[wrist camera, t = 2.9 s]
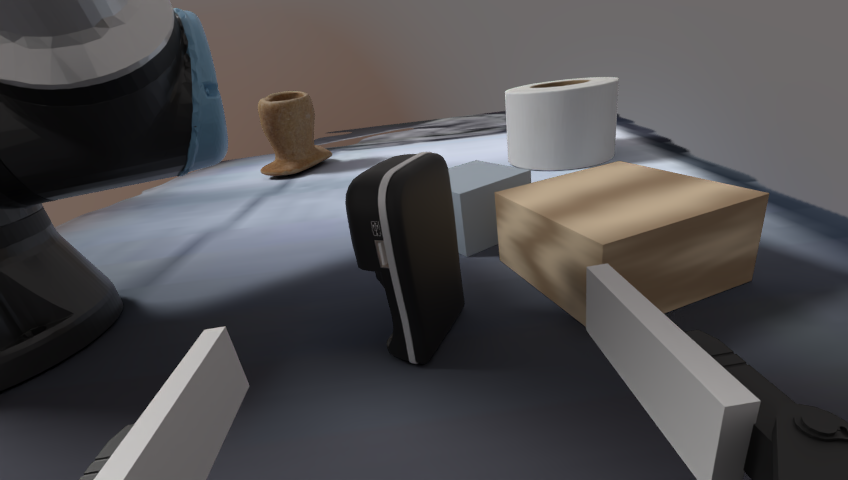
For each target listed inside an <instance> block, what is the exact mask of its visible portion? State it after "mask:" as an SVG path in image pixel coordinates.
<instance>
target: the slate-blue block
mask: <svg viewBox="0 0 848 480" xmlns="http://www.w3.org/2000/svg"><path fill="white" fill-rule="evenodd" d="M448 171H449V177H450V184H451V191H452V198H453V206H454V214H455V223H456V233H457V242H458V252H459V253H460V254H462V255H463V256H465V257H468V256H471V255H473V254H476V253H478V252H480V251H483V250H485V249H487V248H490V247H492V246H495V245H497V244H498V232H497V219H496V206H495V194H494V192H498V191H502V190H506V189H510V188H514V187H518V186H522V185H526V184H530V183H531V170H527V169H522V168H516V167H511V166H505V165H499V164H494V163H488V162H483V161H477V160H475V161H472V162H469V163H465V164H462V165H459V166H455V167H452V168H449V169H448Z"/></svg>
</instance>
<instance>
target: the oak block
mask: <svg viewBox="0 0 848 480" xmlns="http://www.w3.org/2000/svg"><path fill="white" fill-rule="evenodd" d="M494 194H495V206H496V219H497V232H498V244H499V257H500V261H502V262H503V263H504V264H505V265H507V266H508V267H509V268H511V269H512V270H513V271H514V272H516V273H517V274H518V275H520V276H521V277H522V278H523V279H525V280H526V281H527V282H529V283H530V284H531V285H532V286H534V287H535V288H536V289H538V290H539V291H540V292H541V293H543V294H544V295H545V296H547V297H548V298H549V299H550V300H552V301H553V302H554V303H556V304H557V305H558V306H560V307H561V308H562V309H563V310H565V311H566V312H567V313H569V314H570V315H571V316H572V317H574V318H575V319H576V320H578V321H579V322H580V323H581V324H583V325H584V326H585V327H586V272H587V267H588V266H594V265H601V264H607V263H608V264H609V265H610V266H611V267H612V268H613V269H614V270H615V271H617V272H618V273H619V274H620V275H621V276H622V277H623V278H624V279H626V280H627V281H628V282H629V283H630V284H631V285H632V286H633V287H634V288H636V289H637V290H638V291H639V292H640V293H641V294H642V295H643V296H644V297H646V298H647V299H648V300H649V301H650V302H651V303H652V304H653V305H654V306H656V307H657V308H658V309H659V310H660V311H661V312H662V313H663V314H664V313H667V312H670V311H672V310H675V309H677V308H680V307H683V306H685V305H688V304H691V303H693V302H696V301H699V300H701V299H704V298H707V297H709V296H712V295H715V294H717V293H720V292H723V291H725V290H728V289H731V288H733V287H736V286H739V285H741V284H744V283H747V282H749V281H752V277H753V272H754V267H755V262H756V257H757V252H758V247H759V242H760V237H761V232H762V227H763V222H764V217H765V212H766V207H767V202H768V197H769V193H765V192H761V191H756V190H751V189H747V188H742V187H737V186H733V185H728V184H724V183H719V182H714V181H710V180H705V179H701V178H696V177H691V176H687V175H682V174H677V173H673V172H668V171H664V170H659V169H654V168H650V167H645V166H641V165H636V164H631V163H627V162H622V161H617V162H613V163H609V164H605V165H601V166H597V167H593V168H589V169H585V170H581V171H577V172H573V173H569V174H565V175H561V176H557V177H553V178H549V179H545V180H542V181H538V182H534V183H530V184H526V185H522V186H518V187H514V188H510V189H506V190H502V191H498V192H494Z"/></svg>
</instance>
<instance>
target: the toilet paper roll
mask: <svg viewBox="0 0 848 480" xmlns="http://www.w3.org/2000/svg"><path fill="white" fill-rule="evenodd" d="M618 84H619V79H618V78H616V77H592V78H579V79H567V80H558V81H550V82H543V83H536V84H530V85H524V86H520V87H516V88H512V89H509V90H506V91H505V102H506V123H507V144H508V162H509V163H510V164H511V165H513V166H516V167H519V168H523V169H529V170H541V171H556V170H571V169H579V168H586V167H591V166H595V165H599V164H602V163H605V162H607V161H609V160H611V159H612V158H613V157H614V155H615V137H616V119H617V101H618Z"/></svg>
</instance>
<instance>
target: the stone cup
mask: <svg viewBox="0 0 848 480" xmlns="http://www.w3.org/2000/svg"><path fill="white" fill-rule="evenodd" d="M258 112H259V117H260V122H261V125H262V128H263V131H264V133H265V135H266V137H267V138H268V140H269V142H270V143H271V145H272V147H273V149H274V152H275V161H273V162H272V163H270V164H268V165H266V166H264V167H263V168H262V169H261V173H262V174H265V175H270V176H280V175H290V174H295V173H298V172H301V171H303V170H306V169H308V168H310V167H312V166H314V165H316V164H318V163H320V162H322V161H324V160H326V159H328V158H329V157H331V156H332V153H331V152H330V151H329V150H326V149H325V148H323V147H320V146H317V145H314V120H315V114H314V108H313V105H312V101H311V98H310V96H309V95H308V94H307V93H305V92H299V91H285V92H280V93H274V94H271V95H269V96H267V97H266V98H265V99H261V100H260V101H259V103H258Z"/></svg>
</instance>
